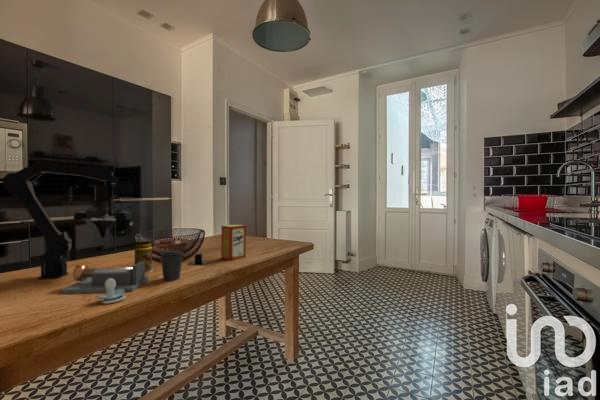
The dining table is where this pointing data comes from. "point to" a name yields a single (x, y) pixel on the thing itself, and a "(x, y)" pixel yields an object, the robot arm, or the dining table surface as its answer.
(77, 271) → the shaft
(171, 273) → the coffee cup
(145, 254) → the condiment
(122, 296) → the pacifier
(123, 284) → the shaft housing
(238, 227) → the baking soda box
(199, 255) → the black block
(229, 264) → the dining table surface
